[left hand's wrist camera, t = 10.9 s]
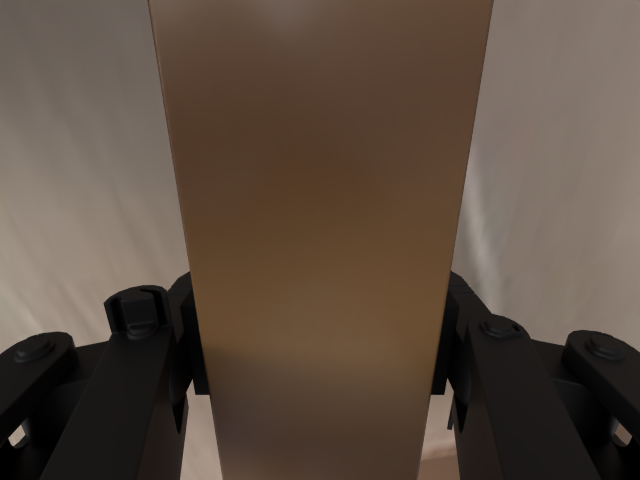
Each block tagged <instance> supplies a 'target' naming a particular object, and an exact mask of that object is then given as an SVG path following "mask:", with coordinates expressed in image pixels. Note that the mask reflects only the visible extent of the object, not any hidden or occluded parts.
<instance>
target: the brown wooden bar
mask: <svg viewBox="0 0 640 480" xmlns="http://www.w3.org/2000/svg"><path fill="white" fill-rule="evenodd" d="M493 1H494V0H148V6H149V12H150V18H151V25H152V31H153V37H154V44H155V50H156V57H157V63H158V69H159V76H160V82H161V88H162V95H163V101H164V108H165V114H166V120H167V127H168V133H169V139H170V146H171V152H172V159H173V165H174V171H175V178H176V184H177V190H178V197H179V203H180V210H181V216H182V222H183V229H184V235H185V242H186V248H187V254H188V261H189V267H190V273H191V280H192V286H193V293H194V299H195V305H196V312H197V318H198V324H199V331H200V337H201V344H202V350H203V356H204V363H205V369H206V375H207V382H208V388H209V395H210V401H211V407H212V414H213V420H214V426H215V433H216V439H217V446H218V452H219V458H220V465H221V471H222V477H223V480H417V478H418V472H419V466H420V459H421V453H422V447H423V441H424V434H425V428H426V422H427V415H428V409H429V403H430V397H431V390H432V384H433V378H434V371H435V365H436V359H437V353H438V346H439V340H440V334H441V327H442V321H443V315H444V309H445V302H446V296H447V290H448V284H449V277H450V271H451V265H452V258H453V252H454V246H455V240H456V233H457V227H458V221H459V214H460V208H461V202H462V196H463V189H464V183H465V177H466V170H467V164H468V158H469V152H470V145H471V139H472V133H473V126H474V120H475V114H476V108H477V101H478V95H479V89H480V82H481V76H482V70H483V64H484V57H485V51H486V45H487V38H488V32H489V26H490V20H491V13H492V7H493Z"/></svg>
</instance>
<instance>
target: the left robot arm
mask: <svg viewBox="0 0 640 480" xmlns="http://www.w3.org/2000/svg"><path fill="white" fill-rule="evenodd" d="M104 307H105V310H106V314H107V318H108V321H109V325H110V329H111V332H112V335H111V337H110V339H109V341H105V342H101V343H96V344H91V345H85V346H80V347H75V344H74V341H73V338H72V336H70V335H69V334H68V333H64V332H49V333H41V334H38V335H34V336H31V337H28V338H27V339H25V340H23V341H21V342H18V343H16V344H15V345H13V346H12V347H10V348H8V349H7V350H5V351H4V352H3V353H1V354H0V480H180V474H181V466H182V458H183V450H184V441H185V433H186V425H187V417H188V408H189V406H188V400H187V394H186V392H187V389H188V387H189V385H190V383H191V381H192V379H193V383H194V389H195V395H209V388H208V382H207V375H206V369H205V363H204V356H203V350H202V344H201V337H200V331H199V324H198V318H197V312H196V305H195V299H194V293H193V286H192V280H191V273H190V271H189V272H188V273H186V274H184V275H183V276H181V277H179V278H178V279H177V280H176V282H175V283H174V284H173V285H172V286H171V288H170V289H169V290H168V291H167V290H165V289H164V288H163V287H160V286H155V285H142V286H137V287H131V288H128V289H125V290H123V291H120V292H118V293H116V294H114V295H112V296H111V297H109V298H108V299H107V300H106V301H105V302H104ZM447 378H448V380H449V382H450V384H451V386H452V388H453V390H454V394H453V400H452V405H451V410H450V415H449V421H448V427H447V429H449V430H452V426H453V424H454V432H455V440H456V449H457V457H458V465H459V473H460V480H640V352H639V351H637V350H636V349H635V348H633V347H631V346H630V345H628V344H627V343H625V342H624V341H621V340H619V339H617V338H614V337H613V336H611V335H608V334H605V333H602V332H597V331H588V330H579V331H573V332H572V333H570V334H569V335H568V337H567V340H566V343H565V346H563V345H557V344H552V343H547V342H542V341H537V340H533V339H531V338H530V336H529V334H528V333H527V331H526V330H525V329H524V328H523V327H522V326H521V325H519V324H518V323H516V322H515V321H513V320H511V319H508V318H506V317H503V316H500V315H495V314H492V313H491V312H490V311H489V309H488V308H487V307H486V306H485V305H484V303H483V302H482V301H481V300H480V299H479V297H478V296H477V295H476V294H474V291H473V290H472V289H471V288H470V287H469V285H468V284H467V283H466V282H465V281H464V279H463V278H462V277H461V276H459V275H457V274H456V273H454V272H452V271H450V277H449V284H448V290H447V296H446V302H445V309H444V315H443V321H442V327H441V334H440V340H439V346H438V353H437V359H436V365H435V371H434V378H433V384H432V390H431V395H444V393H445V388H446V382H447ZM619 422H620V424H621V425H622V426H623V427H624V428H625V429H626V430H627V431H628V432H629V433H630V434H631V435H632V438H631V440H630V443H629V444H628V445H626V444H625V443H624V442H622V441H621V440H620V439H619V438H618V436H617V435H616V434H615V431H616V429H617V427H618V425H619ZM20 425H21V426H22V428H23V430H24V432H25V434H26V435H25V436H24V437H23V438H22V439H21V440H20V442H18V443H17V444H16V445H15V446H12V445H11V443H10V441H9V439H8V438H9V437H10V436H11V434H12V433H13V432H14V431H15V430H16V429H17V428H18V427H19V426H20Z"/></svg>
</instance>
